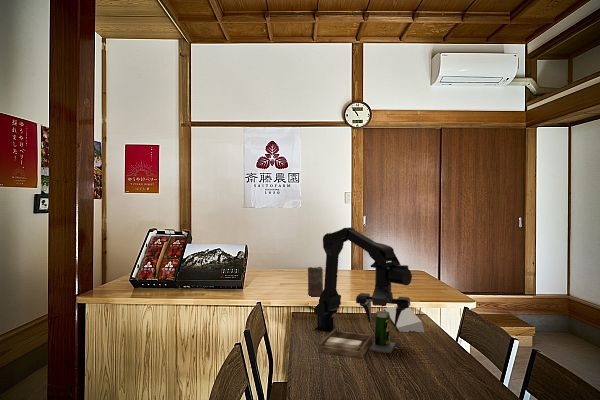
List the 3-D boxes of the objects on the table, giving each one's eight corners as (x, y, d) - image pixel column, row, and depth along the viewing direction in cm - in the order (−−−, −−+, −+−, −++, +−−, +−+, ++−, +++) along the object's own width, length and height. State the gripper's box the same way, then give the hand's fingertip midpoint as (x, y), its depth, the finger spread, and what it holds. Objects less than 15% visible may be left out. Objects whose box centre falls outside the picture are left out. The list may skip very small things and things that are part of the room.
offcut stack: (324, 350, 158) (324, 340, 158) (329, 346, 163) (329, 336, 163) (359, 356, 153) (359, 345, 153) (363, 350, 158) (363, 340, 158)
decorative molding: (400, 339, 181) (424, 332, 180) (397, 327, 180) (421, 321, 180) (385, 315, 215) (405, 310, 215) (382, 306, 215) (402, 300, 214)
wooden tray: (318, 352, 157) (318, 343, 157) (335, 335, 175) (335, 328, 175) (362, 358, 151) (362, 349, 151) (374, 340, 169) (374, 332, 169)
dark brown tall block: (305, 308, 215) (305, 267, 215) (310, 305, 222) (310, 265, 222) (320, 310, 212) (321, 268, 212) (325, 306, 219) (325, 266, 219)
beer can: (373, 347, 161) (373, 313, 160) (376, 342, 166) (376, 310, 165) (388, 349, 159) (388, 315, 158) (391, 344, 164) (391, 311, 163)
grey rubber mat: (369, 350, 159) (369, 348, 159) (375, 341, 168) (375, 340, 168) (390, 353, 156) (390, 351, 156) (395, 344, 165) (395, 342, 165)
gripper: (352, 283, 158) (351, 327, 158) (406, 287, 151) (405, 333, 151) (360, 277, 168) (359, 318, 168) (410, 281, 161) (410, 324, 161)
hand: (382, 324), depth 162 cm, fingers open, 9 cm apart
